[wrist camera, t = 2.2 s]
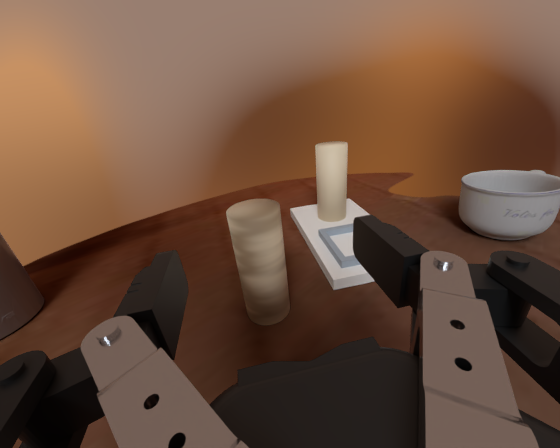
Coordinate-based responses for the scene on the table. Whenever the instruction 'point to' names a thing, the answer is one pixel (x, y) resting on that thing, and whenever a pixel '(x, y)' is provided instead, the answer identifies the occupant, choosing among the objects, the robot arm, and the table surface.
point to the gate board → (340, 240)
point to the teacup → (509, 203)
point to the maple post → (260, 259)
